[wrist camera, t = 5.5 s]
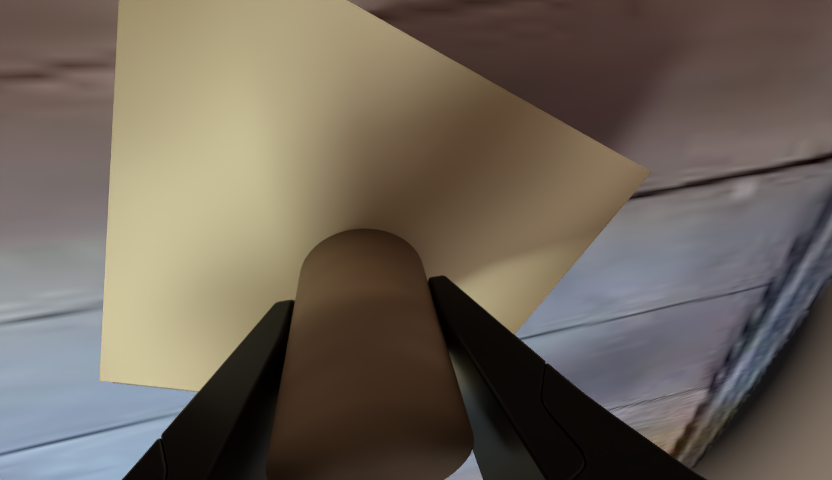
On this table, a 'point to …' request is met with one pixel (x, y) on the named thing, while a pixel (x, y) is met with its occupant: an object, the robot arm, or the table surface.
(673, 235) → the table surface
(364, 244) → the lid
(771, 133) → the table surface
